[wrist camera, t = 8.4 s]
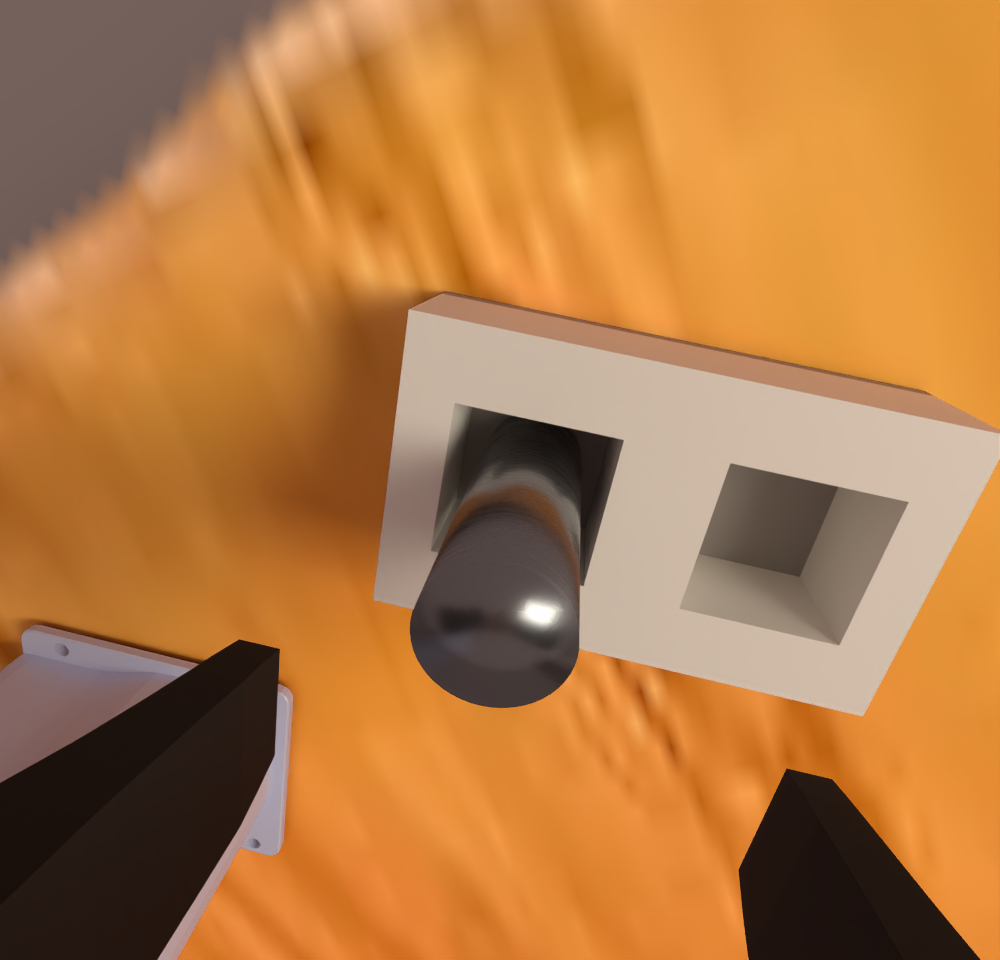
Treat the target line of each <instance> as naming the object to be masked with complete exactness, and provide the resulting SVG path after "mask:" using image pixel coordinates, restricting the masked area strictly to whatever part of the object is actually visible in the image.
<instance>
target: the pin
mask: <svg viewBox="0 0 1000 960" xmlns="http://www.w3.org/2000/svg"><path fill="white" fill-rule="evenodd" d="M580 520H581V451H580V446H579V443H578V441H577V438H576V437H575V435H574V433H573V432H572V431H571V429H570V428H567V427H562V426H558V425H553V424H549V423H544V422H540V421H535V420H530V419H526V418H521V417H517V416H511V417H509V418H508V419H506V420H504V421H503V422H502V423H501V424H500V425H499V426H498V427H497V428H496V429H495V430H494V432H493V433H492V435H491V437H490V438H489V441H488V443H487V445H486V447H485V450H484V452H483V454H482V456H481V459H480V461H479V463H478V465H477V468H476V470H475V472H474V474H473V477H472V479H471V481H470V483H469V485H468V488H467V490H466V492H465V494H464V497H463V499H462V501H461V503H460V506H459V508H458V510H457V512H456V515H455V517H454V519H453V521H452V524H451V526H450V528H449V530H448V533H447V535H446V537H445V539H444V541H443V544H442V546H441V548H440V550H439V553H438V555H437V557H436V559H435V562H434V564H433V566H432V568H431V571H430V573H429V575H428V577H427V580H426V582H425V584H424V586H423V588H422V591H421V593H420V595H419V597H418V600H417V602H416V604H415V607H414V610H413V612H412V617H411V621H410V636H411V643H412V646H413V650H414V653H415V655H416V657H417V659H418V661H419V663H420V665H421V666H422V668H423V669H424V670H425V672H426V673H427V674H428V676H429V677H430V678H431V679H432V680H433V681H434V682H435V683H437V684H438V685H439V686H440V687H441V688H443V689H444V690H446V691H447V692H449V693H450V694H452V695H454V696H456V697H458V698H460V699H462V700H465V701H467V702H470V703H473V704H477V705H481V706H487V707H496V708H509V707H517V706H523V705H527V704H530V703H533V702H536V701H538V700H541V699H543V698H544V697H546V696H548V695H550V694H551V693H552V692H554V691H555V690H556V689H558V688H559V687H560V686H561V685H562V684H563V683H564V682H565V680H566V679H567V678H568V676H569V675H570V674H571V672H572V670H573V668H574V666H575V663H576V660H577V657H578V652H579V628H580Z"/></svg>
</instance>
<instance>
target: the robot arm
mask: <svg viewBox="0 0 1000 960" xmlns="http://www.w3.org/2000/svg"><path fill="white" fill-rule="evenodd" d="M21 641H22V648H23V654H22V655H20V656H19V657H18V658H16V659H15V660H14V661H12V662H11V663H10V664H8V665H7V666H6V667H4V668H3V669H2V670H0V960H177V959H178V957H179V955H180V953H181V952H182V950H183V948H184V946H185V944H186V943H187V941H188V939H189V937H190V936H191V934H192V932H193V930H194V929H195V927H196V925H197V923H198V921H199V920H200V918H201V916H202V914H203V913H204V911H205V909H206V907H207V906H208V904H209V902H210V900H211V898H212V897H213V895H214V893H215V891H216V890H217V888H218V886H219V884H220V883H221V881H222V879H223V877H224V875H225V874H226V872H227V870H228V868H229V867H230V865H231V863H232V861H233V860H234V858H235V856H236V854H237V853H238V851H239V849H240V848H242V849H246V850H250V851H254V852H257V853H261V854H265V855H274V854H277V853H278V852H279V850H280V848H281V846H282V844H283V841H284V827H285V812H286V798H287V784H288V769H289V755H290V740H291V726H292V711H293V695H292V693H291V691H290V690H289V689H288V688H287V687H285V686H283V685H281V684H278V676H279V654H280V649H277V648H273V647H269V646H265V645H260V644H256V643H252V642H248V641H244V640H238V641H236V642H234V643H233V644H231V645H229V646H228V647H226V648H224V649H223V650H221V651H219V652H218V653H216V654H215V655H213V656H211V657H210V658H208V659H207V660H205V661H203V662H202V663H200V664H196V663H192V662H188V661H184V660H180V659H176V658H172V657H168V656H164V655H160V654H156V653H152V652H148V651H144V650H140V649H136V648H132V647H128V646H124V645H120V644H116V643H112V642H107V641H103V640H99V639H95V638H91V637H87V636H83V635H79V634H75V633H71V632H67V631H63V630H59V629H55V628H51V627H47V626H43V625H33V626H31V627H29V628H28V629H26V630H25V631H24V632H23V633H22V635H21ZM739 878H740V889H741V899H742V909H743V919H744V927H745V935H746V943H747V951H748V957H749V960H980V959H979V957H978V956H977V955H976V954H975V953H974V951H973V950H972V949H971V948H970V947H969V946H968V944H967V943H966V942H965V941H964V940H963V938H962V937H961V936H960V935H959V934H958V932H957V931H956V930H955V929H954V927H953V926H952V925H951V924H950V923H949V921H948V920H947V919H946V918H945V917H944V915H943V914H942V913H941V912H940V911H939V909H938V908H937V907H936V906H935V904H934V903H933V902H932V901H931V900H930V898H929V897H928V896H927V895H926V893H925V892H924V891H923V890H922V889H921V887H920V886H919V885H918V884H917V882H916V881H915V880H914V879H913V877H912V876H911V875H910V874H909V872H908V871H907V870H906V869H905V868H904V866H903V865H902V864H901V863H900V861H899V860H898V859H897V858H896V856H895V855H894V854H893V853H892V851H891V850H890V849H889V848H888V846H887V845H886V844H885V843H884V842H883V840H882V839H881V838H880V837H879V835H878V834H877V833H876V832H875V830H874V829H873V828H872V827H871V825H870V824H869V823H868V822H867V820H866V819H865V818H864V817H863V816H862V814H861V813H860V812H859V811H858V809H857V808H856V807H855V806H854V805H853V803H852V802H851V801H850V800H849V799H848V797H847V796H846V795H845V794H844V793H843V791H842V790H841V789H840V788H839V787H838V786H837V785H836V783H835V782H834V781H833V780H832V779H828V778H824V777H820V776H816V775H811V774H807V773H803V772H799V771H794V770H790V769H786V771H785V773H784V775H783V777H782V780H781V782H780V784H779V786H778V788H777V790H776V792H775V794H774V796H773V798H772V801H771V803H770V805H769V807H768V809H767V811H766V813H765V815H764V817H763V820H762V822H761V824H760V826H759V828H758V830H757V832H756V834H755V836H754V838H753V841H752V843H751V845H750V847H749V849H748V851H747V853H746V855H745V857H744V859H743V862H742V864H741V866H740V868H739Z"/></svg>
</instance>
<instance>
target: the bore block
mask: <svg viewBox="0 0 1000 960" xmlns="http://www.w3.org/2000/svg"><path fill="white" fill-rule="evenodd" d="M511 416H517V417H521V418H526V419H530V420H535V421H540V422H544V423H549V424H553V425H558V426H562V427H567V428H570V429H571V431H572V432H573V433H574V435H575V437H576V438H577V441H578V443H579V446H580V451H581V520H580V628H579V649H581V650H585V651H590V652H594V653H598V654H602V655H606V656H611V657H615V658H619V659H623V660H627V661H632V662H636V663H640V664H644V665H649V666H653V667H657V668H661V669H665V670H670V671H674V672H678V673H682V674H686V675H691V676H695V677H699V678H703V679H707V680H712V681H716V682H720V683H724V684H728V685H733V686H737V687H741V688H745V689H749V690H754V691H758V692H762V693H766V694H770V695H775V696H779V697H783V698H787V699H792V700H796V701H800V702H804V703H808V704H813V705H817V706H821V707H825V708H829V709H834V710H838V711H842V712H846V713H850V714H855V715H859V716H863V715H864V713H865V711H866V709H867V708H868V706H869V704H870V702H871V700H872V698H873V696H874V694H875V693H876V691H877V689H878V687H879V685H880V683H881V681H882V679H883V677H884V676H885V674H886V672H887V670H888V668H889V666H890V664H891V662H892V661H893V659H894V657H895V655H896V653H897V651H898V649H899V647H900V645H901V644H902V642H903V640H904V638H905V636H906V634H907V632H908V630H909V629H910V627H911V625H912V623H913V621H914V619H915V617H916V615H917V613H918V612H919V610H920V608H921V606H922V604H923V602H924V600H925V598H926V596H927V595H928V593H929V591H930V589H931V587H932V585H933V583H934V581H935V580H936V578H937V576H938V574H939V572H940V570H941V568H942V566H943V564H944V563H945V561H946V559H947V557H948V555H949V553H950V551H951V549H952V548H953V546H954V544H955V542H956V540H957V538H958V536H959V534H960V532H961V531H962V529H963V527H964V525H965V523H966V521H967V519H968V517H969V516H970V514H971V512H972V510H973V508H974V506H975V504H976V502H977V500H978V499H979V497H980V495H981V493H982V491H983V489H984V487H985V485H986V484H987V482H988V480H989V478H990V476H991V474H992V472H993V470H994V468H995V467H996V465H997V463H998V461H999V459H1000V430H999V429H997V428H995V427H993V426H991V425H989V424H987V423H985V422H983V421H981V420H979V419H977V418H975V417H973V416H972V415H970V414H968V413H966V412H964V411H962V410H960V409H958V408H956V407H954V406H952V405H950V404H948V403H946V402H945V401H943V400H941V399H939V398H937V397H935V396H933V395H931V394H929V393H927V392H925V391H922V390H917V389H912V388H907V387H903V386H898V385H893V384H888V383H883V382H879V381H874V380H869V379H864V378H859V377H855V376H850V375H845V374H840V373H836V372H831V371H826V370H821V369H816V368H812V367H807V366H802V365H797V364H792V363H788V362H783V361H778V360H773V359H768V358H764V357H759V356H754V355H749V354H744V353H740V352H735V351H730V350H725V349H720V348H716V347H711V346H706V345H701V344H696V343H692V342H687V341H682V340H677V339H672V338H668V337H663V336H658V335H653V334H648V333H644V332H639V331H634V330H629V329H624V328H620V327H615V326H610V325H605V324H600V323H596V322H591V321H586V320H581V319H576V318H572V317H567V316H562V315H557V314H552V313H548V312H543V311H538V310H533V309H528V308H524V307H519V306H514V305H509V304H504V303H500V302H495V301H490V300H485V299H480V298H476V297H471V296H466V295H461V294H456V293H452V292H447V291H446V292H444V293H442V294H440V295H438V296H436V297H433V298H431V299H429V300H427V301H425V302H423V303H421V304H419V305H417V306H415V307H412V308H410V309H409V312H408V320H407V328H406V336H405V345H404V353H403V361H402V369H401V377H400V385H399V393H398V401H397V409H396V418H395V426H394V434H393V442H392V450H391V458H390V466H389V474H388V483H387V491H386V499H385V507H384V515H383V523H382V531H381V539H380V548H379V556H378V564H377V572H376V580H375V588H374V596H373V600H375V601H379V602H384V603H388V604H392V605H396V606H400V607H405V608H409V609H413V610H414V607H415V604H416V602H417V600H418V597H419V595H420V593H421V591H422V588H423V586H424V584H425V582H426V580H427V577H428V575H429V573H430V571H431V568H432V566H433V564H434V562H435V559H436V557H437V555H438V553H439V550H440V548H441V546H442V544H443V541H444V539H445V537H446V535H447V533H448V530H449V528H450V526H451V524H452V521H453V519H454V517H455V515H456V512H457V510H458V508H459V506H460V503H461V501H462V499H463V497H464V494H465V492H466V490H467V488H468V485H469V483H470V481H471V479H472V477H473V474H474V472H475V470H476V468H477V465H478V463H479V461H480V459H481V456H482V454H483V452H484V450H485V447H486V445H487V443H488V441H489V438H490V437H491V435H492V433H493V432H494V430H495V429H496V428H497V427H498V426H499V425H500V424H501V423H502V422H503V421H504V420H506V419H508V418H509V417H511Z"/></svg>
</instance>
